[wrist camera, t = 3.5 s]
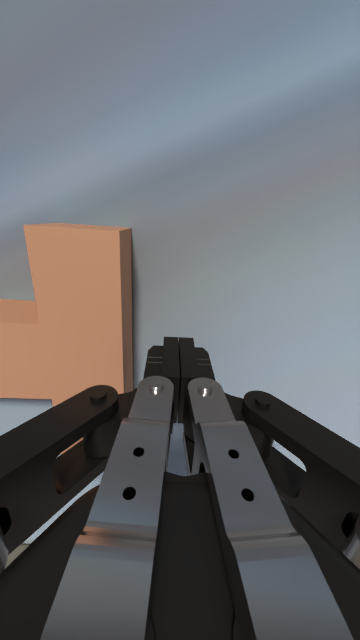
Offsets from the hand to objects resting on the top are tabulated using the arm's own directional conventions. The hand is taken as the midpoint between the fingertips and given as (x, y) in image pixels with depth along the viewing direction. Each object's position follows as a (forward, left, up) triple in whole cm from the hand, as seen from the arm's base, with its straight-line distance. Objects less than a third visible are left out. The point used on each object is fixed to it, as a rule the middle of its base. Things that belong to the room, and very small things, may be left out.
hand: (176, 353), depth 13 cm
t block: (+8, 0, -2) cm, 8 cm away
